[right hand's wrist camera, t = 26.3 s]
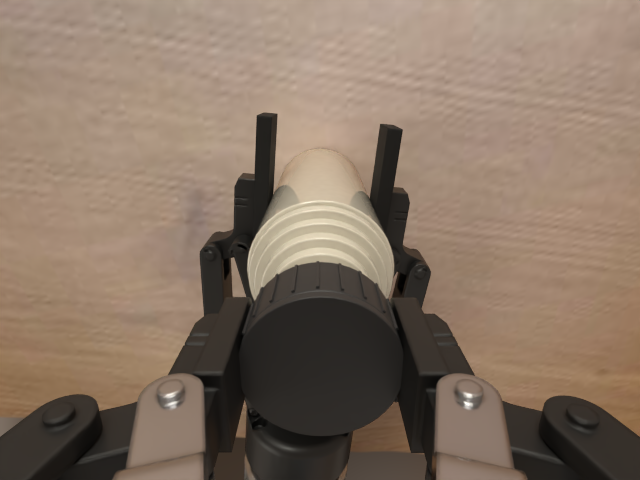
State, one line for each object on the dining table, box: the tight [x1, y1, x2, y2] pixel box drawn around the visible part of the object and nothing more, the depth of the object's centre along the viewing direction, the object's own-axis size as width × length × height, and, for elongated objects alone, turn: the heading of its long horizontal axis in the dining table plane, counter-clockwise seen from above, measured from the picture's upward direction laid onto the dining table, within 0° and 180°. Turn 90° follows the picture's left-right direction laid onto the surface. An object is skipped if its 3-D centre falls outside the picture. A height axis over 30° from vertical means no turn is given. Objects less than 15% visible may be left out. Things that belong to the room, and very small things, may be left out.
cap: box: [239, 261, 404, 436], centre depth 11 cm, size 4×4×2 cm
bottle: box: [247, 149, 394, 301], centre depth 20 cm, size 6×6×19 cm
